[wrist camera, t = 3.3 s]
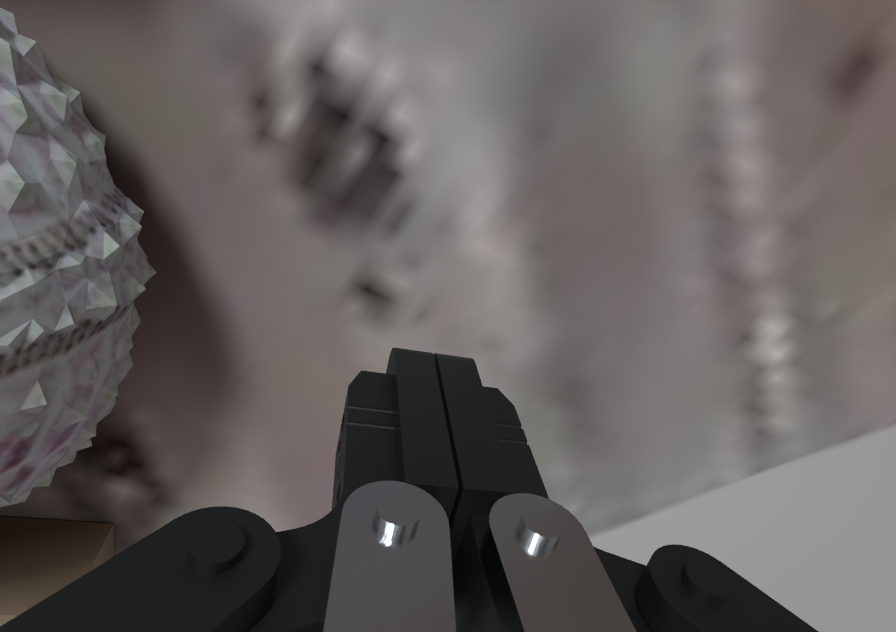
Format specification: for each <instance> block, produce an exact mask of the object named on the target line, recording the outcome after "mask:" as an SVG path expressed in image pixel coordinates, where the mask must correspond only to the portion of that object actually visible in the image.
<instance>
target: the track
mask: <svg viewBox="0 0 896 632" xmlns="http://www.w3.org/2000/svg"><path fill="white" fill-rule="evenodd" d="M114 556H115V543H114V524H109V523H94V522H79V521H64V520H49V519H34V518H19V517H4V516H0V626H2V625H4V624H5V623H7V622H8V621H10V620H12V619H13V618H15V617H17V616H18V615H20V614H21V613H23V612H25V611H26V610H28V609H30V608H31V607H33V606H34V605H36V604H38V603H39V602H41V601H43V600H44V599H46V598H47V597H49V596H51V595H52V594H54V593H56V592H57V591H59V590H60V589H62V588H64V587H65V586H67V585H69V584H70V583H72V582H73V581H75V580H77V579H78V578H80V577H82V576H83V575H85V574H86V573H88V572H90V571H91V570H93V569H95V568H96V567H98V566H99V565H101V564H103V563H104V562H106V561H108V560H109V559H111V558H112V557H114Z"/></svg>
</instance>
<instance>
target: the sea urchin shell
mask: <svg viewBox="0 0 896 632" xmlns="http://www.w3.org/2000/svg"><path fill="white" fill-rule="evenodd" d="M105 138H106V136H105V135H103V134H102V133H100V132H99V131H98V130H96V129H95V128H93V126H92V125H91V123H90V122H89V120H88V119H87V117H86V116H85V114H84V113H83V107H82V102H81V96H80V92H79V91H77V90H75V89H74V88H72V87H71V86H69V85H68V84H66V83H65V82H63V81H62V80H60V79H58V78H57V77H55V76H54V75H52V74H51V73H49V71H48V68H47V65H46V62H45V59H44V56H43V54H42V51H40V50H39V47H38V44H37V42H36V41H34V40H32V39H29V38H27V37H24V36H22V35H21V34H20V32H19V29H18V26H17V23H16V20H15V17H14V14H13V13H11V12H9V11H6V10H4V9H2V8H0V507H4V506H9V505H13V504H17V503H22V502H26V500H27V497H28V496H29V494H30V492H31V491H32V489H33V487H44V486H50V484H51V481H52V478H53V476H54V473H55V471H56V468H58V467H61V466H64V465H66V464H69V463H72V462H73V461H74V459H75V457H76V453H77V451H78V450H81V449H85V448H88V447H91V446H92V442H91V437H95V436H96V426H97V423H98V422H99V421H101V420H102V419H103V418H104V417H105V416H107V415H109V414H110V412H111V411H112V409H113V408H114V406H115V405H116V396H117V395H119V394H118V389H117V386H118V385H119V384H120V383H121V381H122V380H123V379H124V378H125V377H126V376H127V374H128V373H129V371H130V369H131V368H132V366H133V362H132V359H131V356H130V352H129V351H130V350H131V348H132V347H133V343H132V335H133V334H134V332H135V330H136V328H137V327H138V325H139V323H140V321H141V319H140V317H139V315H138V312H137V310H136V308H135V306H134V300H135V299H136V298H137V297H138V296H139V295H140V294H141V293H142V292H144V291H145V290H146V288H145V286H144V284H145V283H146V282H147V281H148V280H149V279H150V278H151V277H152V276H153V275H154V274H156V272H155V270H154V269H153V268H152V267H151V265H150V264H149V263H148V262H147V258H148V257H147V255H146V254H145V252H144V251H143V249H142V248H141V246H140V245H139V243H138V239H137V238H138V235H139V233H140V230H141V228H142V226H141V225H139V223H140V221H141V218H142V216H143V213H144V211H143V210H141V209H140V208H139V207H138V206H136V205H135V204H134V203H133V202H131V199H130V198H128V197H126V196H125V195H124V194H123V193H122V192H121V191H120V190H119V189H118V188H117V186H116V185H115V184H114V182H113V180H112V177H111V175H110V172H109V170H108V168H107V165H106V155H105V151H104V147H105Z"/></svg>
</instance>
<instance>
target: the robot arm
mask: <svg viewBox="0 0 896 632" xmlns="http://www.w3.org/2000/svg"><path fill="white" fill-rule="evenodd" d="M334 475H335V477H334V487H333V501H332V511H331V512H330V513H329V514H327V515H326V516H325V517H323V518H322V519H320V520H318V521H316V522H315V523H312V524H310V525H307V526H304V527H300V528H296V529H291V530H286V531H281V532H275V531H274V529H273V528H272V527H271V525H270V524H269V523H268V522H266V521H265V520H264V519H263V518H261V517H260V516H258V515H256V514H254V513H252V512H249V511H247V510H243V509H239V508H234V507H209V508H203V509H199V510H195V511H192V512H189V513H187V514H184V515H182V516H180V517H178V518H176V519H174V520H173V521H171V522H169V523H168V524H166V525H164V526H163V527H161V528H160V529H158V530H156V531H155V532H153V533H151V534H150V535H148V536H147V537H145V538H143V539H142V540H140V541H138V542H137V543H135V544H134V545H132V546H130V547H129V548H127V549H125V550H124V551H122V552H121V553H119V554H117V555H116V556H114V557H112V558H111V559H109V560H108V561H106V562H104V563H103V564H101V565H99V566H98V567H96V568H95V569H93V570H91V571H90V572H88V573H86V574H85V575H83V576H82V577H80V578H78V579H77V580H75V581H73V582H72V583H70V584H69V585H67V586H65V587H64V588H62V589H60V590H59V591H57V592H56V593H54V594H52V595H51V596H49V597H47V598H46V599H44V600H43V601H41V602H39V603H38V604H36V605H34V606H33V607H31V608H30V609H28V610H26V611H25V612H23V613H21V614H20V615H18V616H17V617H15V618H13V619H12V620H10V621H8V622H7V623H5V624H4V625H2V626H0V632H818V631H816V630H815V629H814V628H812V627H811V626H810V625H808V624H807V623H805V622H804V621H803V620H801V619H800V618H798V617H797V616H796V615H794V614H793V613H792V612H790V611H789V610H787V609H786V608H784V607H783V606H782V605H780V604H779V603H778V602H776V601H775V600H773V599H772V598H771V597H769V596H768V595H766V594H765V593H763V592H762V591H761V590H759V589H758V588H757V587H755V586H754V585H752V584H751V583H750V582H748V581H747V580H745V579H744V578H742V577H741V576H740V575H738V574H737V573H736V572H734V571H733V570H731V569H730V568H729V567H727V566H726V565H724V564H723V563H722V562H720V561H718V560H717V559H716V558H714V557H712V556H710V555H709V554H707V553H705V552H702V551H700V550H698V549H695V548H691V547H688V546H683V545H666V546H663V547H661V548H659V549H657V550H656V551H655V552H654V553H653V555H652V556H651V558H650V560H649V562H648V564H647V566H645V565H642V564H639V563H636V562H634V561H631V560H628V559H625V558H622V557H619V556H616V555H613V554H611V553H607V552H605V551H602V550H600V549H597V548H595V547H593V546H592V543H591V541H590V539H589V537H588V535H587V533H586V532H585V530H584V528H583V527H582V525H581V524H580V522H579V521H578V520H577V519H576V518H575V517H574V516H573V515H572V514H571V513H570V512H569V511H568V510H566V509H565V508H564V507H562V506H561V505H559V504H557V503H556V502H554V501H552V500H549V498H548V495H547V492H546V489H545V487H544V484H543V481H542V479H541V476H540V473H539V471H538V468H537V465H536V463H535V460H534V457H533V455H532V452H531V449H530V447H529V445H527V439H526V436H525V433H524V431H523V429H521V423H520V420H519V417H518V415H517V412H516V409H515V407H514V405H513V404H512V403H511V402H510V401H509V400H508V399H507V398H506V397H505V396H504V395H503V394H502V393H501V392H500V391H499V389H498V388H491V387H483V386H482V383H481V380H480V377H479V373H478V370H477V367H476V364H475V361H474V359H472V358H465V357H458V356H451V355H443V354H436V353H435V354H433V353H428V352H421V351H414V350H407V349H400V348H393V349H392V351H391V353H390V357H389V361H388V366H387V371H386V374H383V373H376V372H368V371H361V372H360V373H359V374H358V375H357V376H356V378H355V379H354V380H353V381H352V382H351V383H350V385H349V387H348V392H347V398H346V403H345V408H344V414H343V419H342V424H341V429H340V435H339V440H338V445H337V451H336V460H335V474H334Z"/></svg>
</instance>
